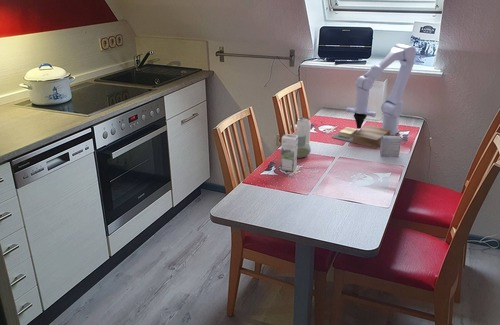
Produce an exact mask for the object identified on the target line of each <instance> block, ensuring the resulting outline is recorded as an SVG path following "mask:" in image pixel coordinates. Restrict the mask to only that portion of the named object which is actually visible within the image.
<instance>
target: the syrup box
mask: <svg viewBox="0 0 500 325" xmlns="http://www.w3.org/2000/svg"><path fill="white" fill-rule="evenodd" d="M297 147H298V135H293V134H291V133H290V134H288V133H284V134H283V135H282V137H281V148H280V149H281V150H280V171H287V172H295V170H296V168H297V164H298V163H297V162H298V161H297V160H298V158H297Z"/></svg>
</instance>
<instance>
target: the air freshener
mask: <svg viewBox="0 0 500 325" xmlns="http://www.w3.org/2000/svg"><path fill="white" fill-rule="evenodd" d="M292 135H298V147H297V159H302V158H305V157H307V156H309V154H310V153H311V150H312V149H311V146H310V145H309V144H307V143H305V141H306V135H305V134H304V133H296V132H294V133H292Z"/></svg>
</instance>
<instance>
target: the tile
mask: <svg viewBox="0 0 500 325" xmlns="http://www.w3.org/2000/svg"><path fill="white" fill-rule="evenodd" d="M357 130H359V129H358V128H353V127H348V126H346V127H344V128H343V129H341V130H340V131H338V133H339V136H343V137H348V138H351V137H352V136H353V135H354V134H355V133H357Z"/></svg>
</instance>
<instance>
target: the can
mask: <svg viewBox="0 0 500 325" xmlns="http://www.w3.org/2000/svg"><path fill="white" fill-rule="evenodd" d="M297 119H298V120H297V122H296V132H295V133H304V134H305V135H306V141H305V143H307V144H308V145H309V144H310V143H311V142H310V139H311V126H312V125H311V119H310V118H308V117H299V118H297Z"/></svg>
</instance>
